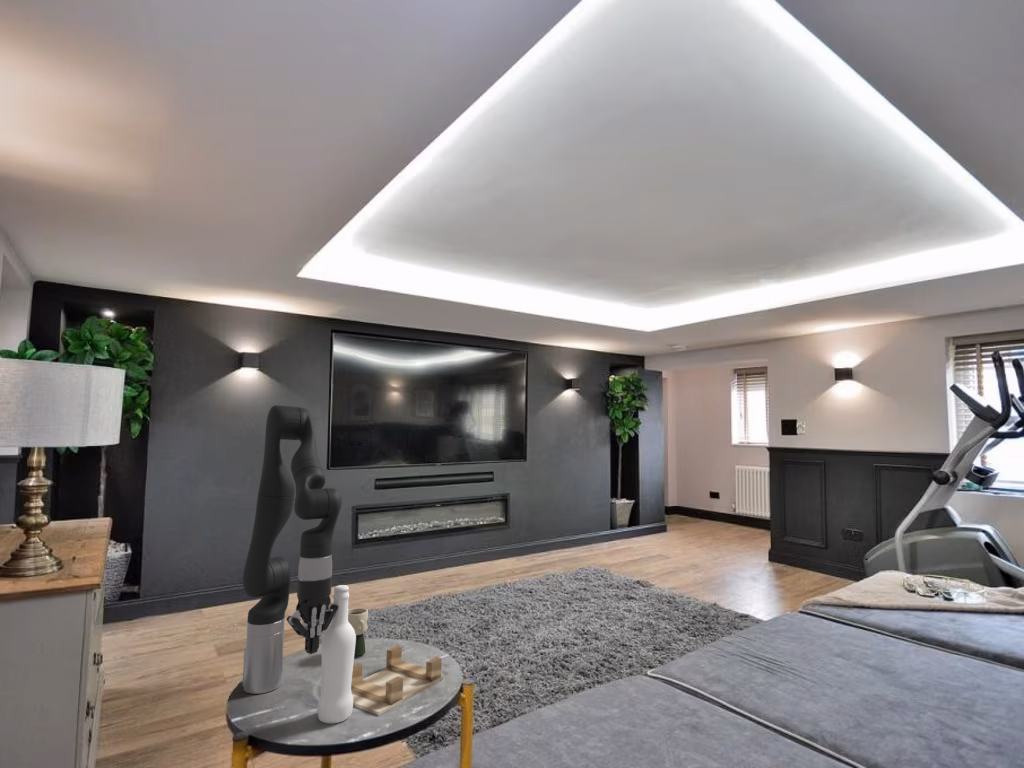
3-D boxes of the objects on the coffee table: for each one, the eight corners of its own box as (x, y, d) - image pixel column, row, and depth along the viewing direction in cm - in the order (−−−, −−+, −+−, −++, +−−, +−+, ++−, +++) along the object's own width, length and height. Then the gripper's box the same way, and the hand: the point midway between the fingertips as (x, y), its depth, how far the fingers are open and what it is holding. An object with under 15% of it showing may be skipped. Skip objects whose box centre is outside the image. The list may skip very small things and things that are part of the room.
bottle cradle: (331, 697, 137) (332, 673, 138) (398, 664, 157) (399, 644, 158) (378, 715, 128) (379, 690, 129) (443, 678, 148) (443, 656, 149)
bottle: (341, 726, 123) (348, 591, 127) (310, 722, 125) (317, 589, 128) (358, 710, 131) (364, 583, 134) (328, 706, 132) (335, 581, 136)
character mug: (373, 657, 162) (374, 613, 164) (350, 663, 158) (352, 617, 159) (358, 646, 171) (360, 604, 172) (336, 652, 166) (338, 608, 168)
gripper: (328, 567, 133) (325, 640, 131) (279, 578, 122) (275, 658, 120) (348, 571, 129) (345, 647, 127) (300, 583, 118) (296, 666, 116)
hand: (311, 652), depth 123 cm, fingers closed
